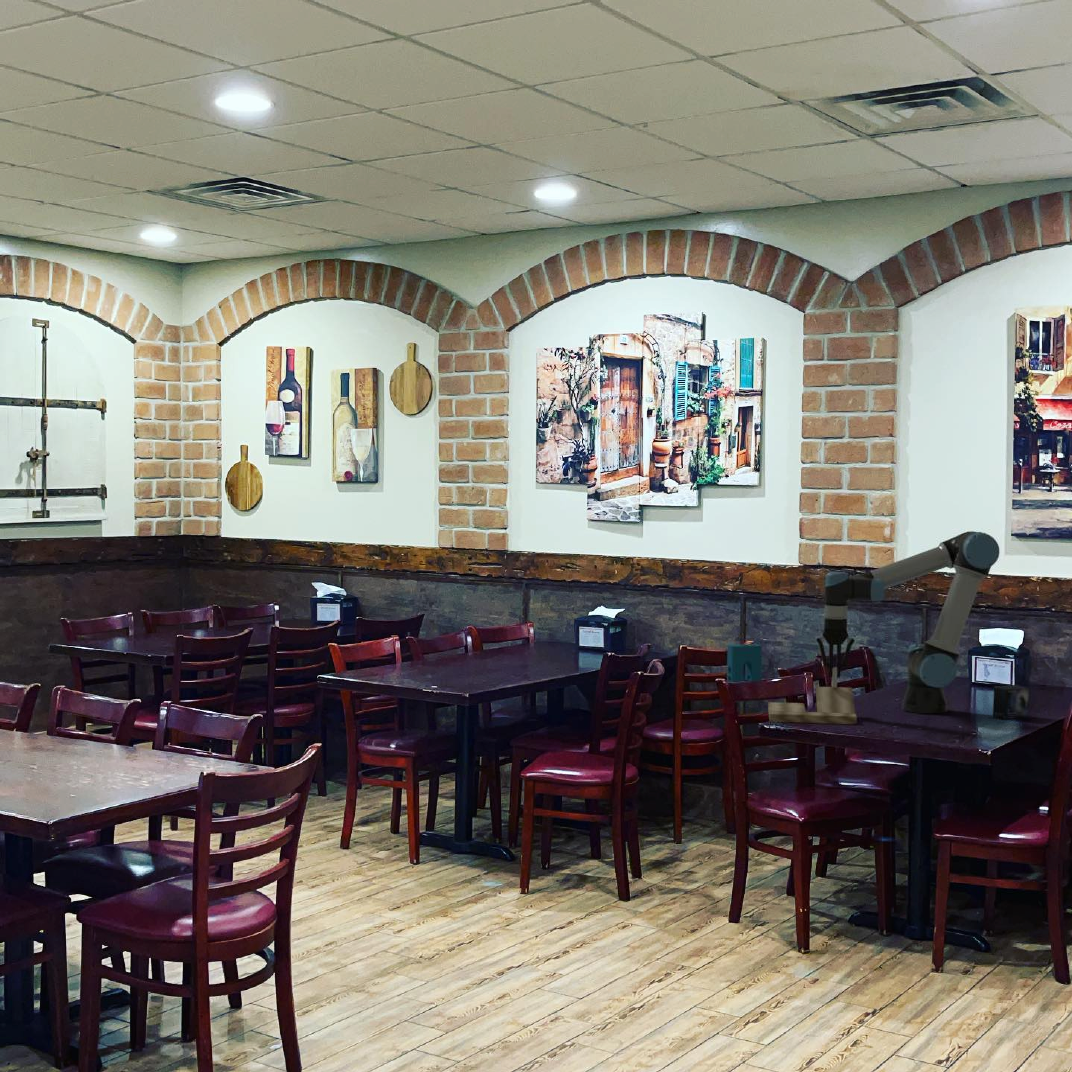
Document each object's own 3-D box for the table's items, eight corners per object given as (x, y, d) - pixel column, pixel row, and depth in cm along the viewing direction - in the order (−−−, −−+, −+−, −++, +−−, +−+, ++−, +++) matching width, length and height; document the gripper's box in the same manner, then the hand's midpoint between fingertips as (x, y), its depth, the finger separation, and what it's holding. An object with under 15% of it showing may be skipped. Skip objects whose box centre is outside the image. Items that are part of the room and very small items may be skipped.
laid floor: (854, 721, 450) (855, 713, 450) (856, 724, 444) (856, 716, 444) (769, 718, 454) (769, 710, 454) (769, 721, 448) (769, 713, 448)
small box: (1006, 720, 454) (1007, 689, 454) (991, 717, 460) (992, 686, 459) (1029, 717, 459) (1030, 687, 458) (1014, 714, 465) (1015, 684, 464)
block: (755, 698, 495) (755, 643, 494) (762, 700, 490) (762, 645, 490) (725, 700, 491) (726, 645, 490) (732, 702, 486) (733, 646, 486)
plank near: (851, 693, 462) (852, 687, 461) (854, 719, 451) (854, 713, 450) (815, 692, 464) (816, 686, 462) (817, 717, 453) (818, 712, 452)
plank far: (803, 710, 465) (803, 703, 465) (805, 719, 452) (805, 711, 452) (768, 709, 467) (768, 702, 467) (769, 718, 454) (769, 710, 454)
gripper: (854, 617, 462) (852, 685, 463) (815, 616, 464) (813, 684, 465) (856, 619, 455) (854, 689, 456) (816, 618, 457) (815, 688, 458)
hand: (834, 686), depth 461 cm, fingers closed
